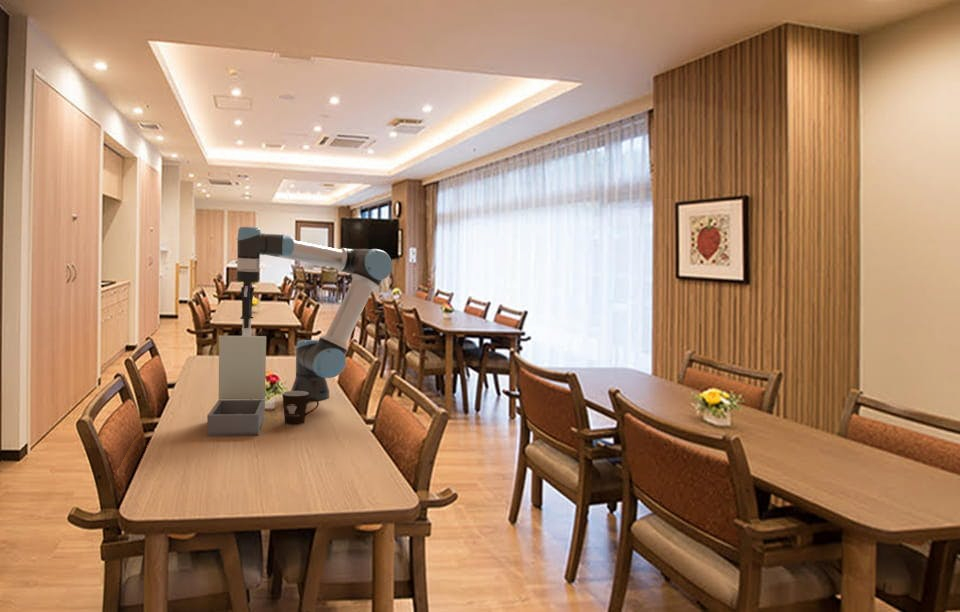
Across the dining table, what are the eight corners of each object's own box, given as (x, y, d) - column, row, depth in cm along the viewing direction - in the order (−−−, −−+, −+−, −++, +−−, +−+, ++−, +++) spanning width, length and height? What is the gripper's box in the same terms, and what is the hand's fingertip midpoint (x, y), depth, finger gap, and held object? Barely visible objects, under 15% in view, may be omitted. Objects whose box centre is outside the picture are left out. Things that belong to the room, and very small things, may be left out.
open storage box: (264, 418, 229) (264, 399, 229) (258, 435, 208) (258, 415, 207) (218, 418, 226) (218, 399, 225) (207, 436, 204) (207, 415, 204)
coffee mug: (276, 422, 224) (276, 393, 223) (294, 418, 232) (295, 389, 231) (302, 428, 219) (302, 398, 218) (319, 423, 226) (320, 394, 226)
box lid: (264, 399, 229) (265, 398, 230) (265, 337, 225) (266, 336, 227) (218, 399, 225) (219, 398, 227) (218, 336, 222) (219, 335, 223)
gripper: (239, 269, 240) (237, 334, 242) (234, 270, 227) (232, 339, 229) (260, 270, 242) (259, 335, 243) (257, 271, 229) (255, 339, 231)
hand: (246, 337), depth 236 cm, fingers closed
